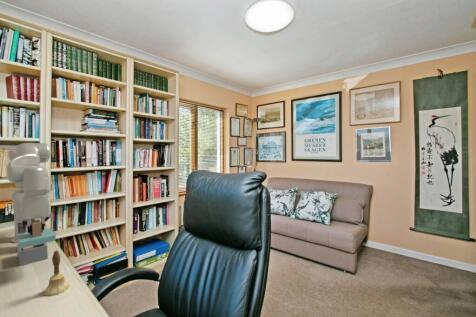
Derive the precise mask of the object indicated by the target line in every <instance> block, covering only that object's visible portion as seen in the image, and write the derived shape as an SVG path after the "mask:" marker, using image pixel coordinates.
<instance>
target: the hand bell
mask: <svg viewBox="0 0 476 317" xmlns="http://www.w3.org/2000/svg"><path fill="white" fill-rule="evenodd" d="M51 261H52V264H53V275H51V276H50V278H49V281H48V284H47V287H46V288H45V289H44V291H43V292H42V293H43V295H44V296H47V297H48V296H49V297H51V295H53V296H56V294H57V295H60V294H62V293H64V292H65V290H66V291H67V290H68V289H69V288H70V283H68V282H67V281H66V279H65V275H64V274H63V273H60V263H61V254H60V252H59V250H58V249H57V250H54V251H53V254H52V258H51ZM59 293H60V294H59Z"/></svg>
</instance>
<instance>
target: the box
mask: <svg viewBox="0 0 476 317" xmlns="http://www.w3.org/2000/svg"><path fill="white" fill-rule="evenodd" d="M47 244H48V243H43V244H39V245H34V246H30V247H25V248H21V249H20V246H19V243H17V244H16V247H17V250H16V251H17V260H18V264H19V267H22V266H26V265H30V264H34V263H37V262H41V261H44V260H47V259H48V256H49V254H48V253H49V252H48V245H47Z"/></svg>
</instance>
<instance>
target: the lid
mask: <svg viewBox="0 0 476 317" xmlns="http://www.w3.org/2000/svg"><path fill="white" fill-rule="evenodd" d="M31 225H32V235H30V233H28V232H27V233H22V234H17V239H18V242H17V244H19V246H20V249H21V248H25V247H30V246H34V245H39V244H43V243H46V244H48V243H51V242H52V243H53V242H55V241H56V240H57V239H56V238H57V237H56V233H55V232H54V231H53V230H52V229H51V228H50V227H48V228H44V230H43V232H42V230H41V219H35V221H31Z"/></svg>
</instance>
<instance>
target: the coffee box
mask: <svg viewBox="0 0 476 317" xmlns="http://www.w3.org/2000/svg"><path fill="white" fill-rule="evenodd" d="M35 220H36V218H35V219H31V221H35ZM25 221H27V220H25ZM27 232H28V227H27V226H26V225H25V224H23V223H18V234H22V233H27Z"/></svg>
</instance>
